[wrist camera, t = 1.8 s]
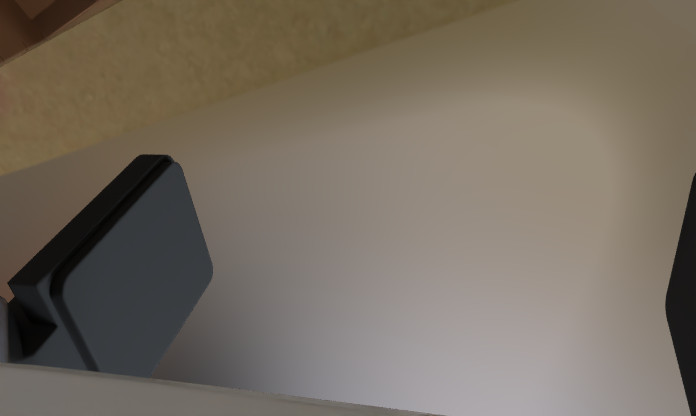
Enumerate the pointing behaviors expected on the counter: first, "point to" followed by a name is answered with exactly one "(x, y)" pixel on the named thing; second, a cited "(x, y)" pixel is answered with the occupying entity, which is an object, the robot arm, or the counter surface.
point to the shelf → (40, 22)
